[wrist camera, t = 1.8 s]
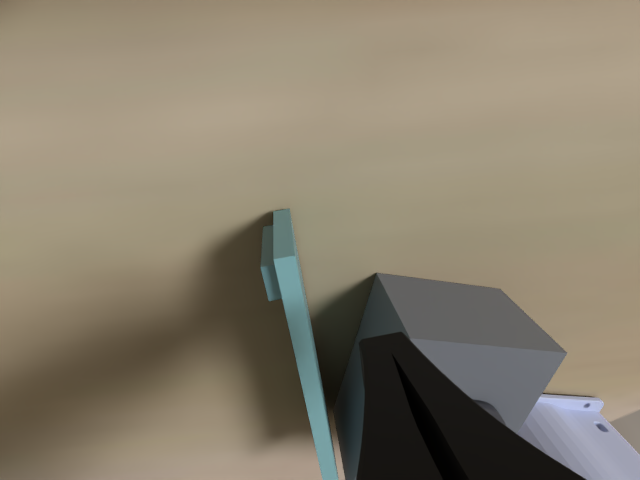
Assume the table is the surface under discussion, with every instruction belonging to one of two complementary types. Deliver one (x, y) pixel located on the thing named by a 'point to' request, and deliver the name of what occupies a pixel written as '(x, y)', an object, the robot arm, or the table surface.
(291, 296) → the door
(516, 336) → the block
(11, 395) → the table surface
